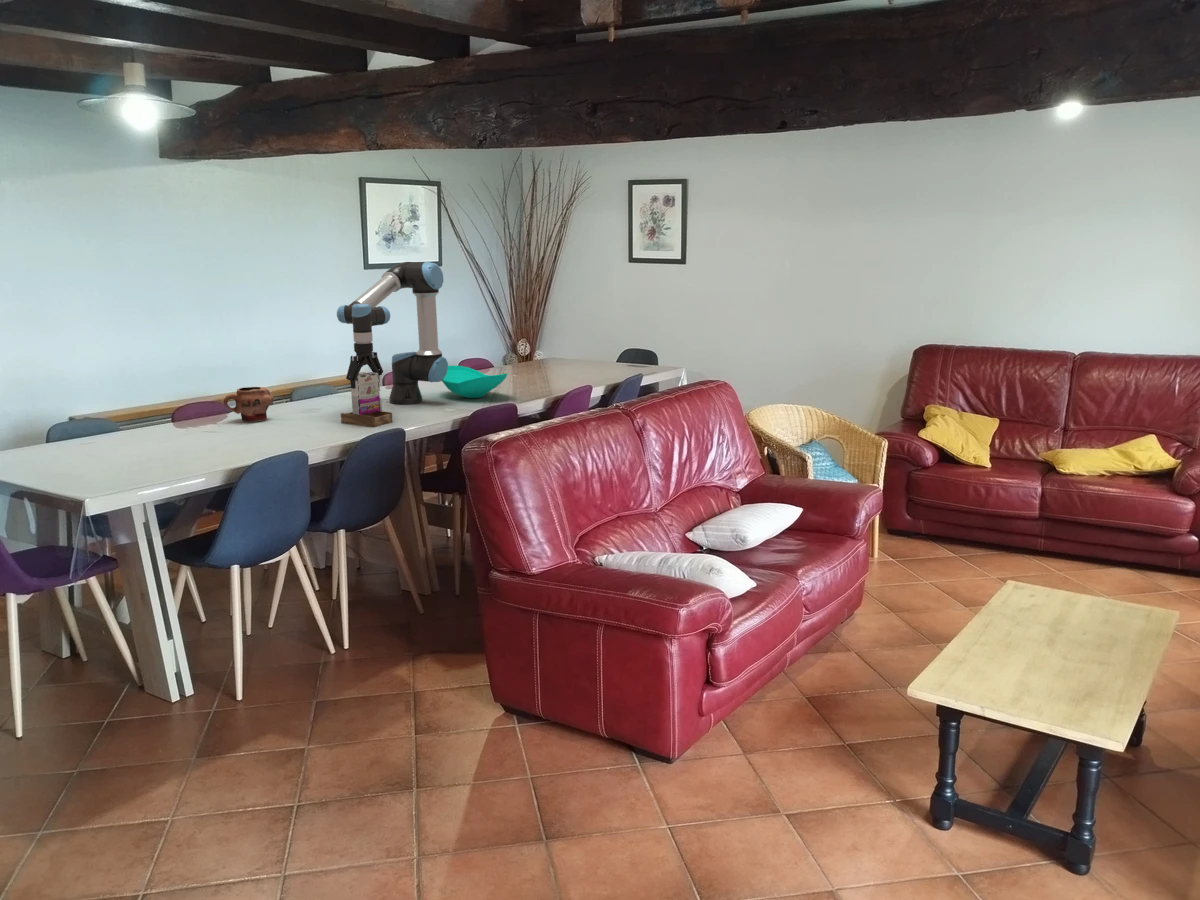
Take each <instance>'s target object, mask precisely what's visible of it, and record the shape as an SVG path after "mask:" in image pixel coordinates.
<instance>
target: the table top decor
mask: <svg viewBox="0 0 1200 900" xmlns="http://www.w3.org/2000/svg"><path fill="white" fill-rule="evenodd" d="M507 376H508V373H507V372H506V373H501V374H492V375H489V374H485V373H483V372H480V371H479V370H477V369H474V368H471V367H469V366H462V365H448V370H447V374H446V376H445V378H444V379H443V380H442V381H441V382H442V383H443V384H444V386H445V387H446V388H447V390H449V391H450V392H452V393H453V394H455V395H458V396H460V397H463V398H466V399H478V398H479V399H480V398H483V397H484V396H485V395H487V394H488V393H490V392H491V391H493V389H496V388H497V387H498V386H499V385H500V384H502V383H503V382H504V381H505V379H506V378H507Z"/></svg>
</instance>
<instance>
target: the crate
mask: <svg viewBox="0 0 1200 900" xmlns="http://www.w3.org/2000/svg"><path fill="white" fill-rule="evenodd" d="M390 422H391V423H393V412H392V411H391V412H389V411H384V410H382V411H380V412H375V413H370V414H364V415H355V414H353V411H352V412H347V413H345V412H341V413H340V423H341V424H344V425H346V424H347V425H352V426H353V425H354V426H355V425H356V426H361V427H362V426H363V427H369V428H375V427H379V426H382V425H387V424H390Z"/></svg>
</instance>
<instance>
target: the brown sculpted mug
mask: <svg viewBox="0 0 1200 900" xmlns="http://www.w3.org/2000/svg"><path fill="white" fill-rule="evenodd" d="M274 398H275V397H274V396H273V395H271V392H270V390H269V389H268V388H267V387H261V386H251V387H250V386H249V387H248V386H246V387H241V388H237V390H236V393H231V394H227V395H225V397H224V399H223V404H224V406H225V407H226V408H227V409H228V410H230V411H231V412H233V413H235V414H238V415H240V417H241V420H242V421H243V422H246V423H252V422H261V421H265V420H266V421H267V419H268V417H267V416H268V415H267V411H268V408H269V407H270V405H271V404H272V403H273V402H274V400H275V399H274ZM230 400H234V401H235V406H234V407H230V406H229V405H228V402H229V401H230Z"/></svg>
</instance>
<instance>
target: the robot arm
mask: <svg viewBox="0 0 1200 900" xmlns="http://www.w3.org/2000/svg"><path fill="white" fill-rule="evenodd" d="M443 284H444V274H443V271H442V269H441V267H440V266H439V265H438V264H437V263H435V262H430V261H405V262H404V261H403V262H400V263H398V264H396V265H394V266H393V267H391V268H389V269H387V270H386V271H385V272H384V273H383V274H382V275H381V279H379V280H378V281H376V282H375V283H374V284H373V285H372V286H371V287H369V288H368V289H366V291H365V292H363V293H362V294H361V295H360V296H359V297H357V298H356V299H355V300H354V301H352V302H351V303H349V304H344V305H339V306H338V308H337V310H336V317H337V321H338V322H339V323H342V324H347V325H349V324H350V325H352V328H353V329H352V332H353V334H352V335H353V342H354V343H353V351H354V353H355V355H351V356H350V359H349V360H350V361H349V367H348V369H347V374H346V377H345V379H346V380H347V381H350V382H349V383H350V389H351V388H352V394H351V397H352V396H358V381H357V380H356V378H357V376H358V374H360V372H361V369H362V368H363V367H364V366H366V365H367V366H368V368H369V369H370V370H371V372H374V373H378V377H379V392H380V391H381V388H380V386H381V376H382V375H383V373H384V370H383V367H382V365H381V362H380V360H379V358H378V352H377V351H376V352H375V351H374V344H373V341H374V340H373V329H372V328H373V327H375V326H382V325H385V324H388V323H389V322H390V319H391V311H390V310H389V309H388V307H386V306H379V304H381V303H382V302H383V301H384V300H385V299H386V298H388V296H390V295H391V294H392V293H396V292H398V291H400V290H401V289H407V288H408V289H412V290H411V291H412V294H413V295H414V296H415V298H416V312H417V314H416V316H417V330H418V346H419V349H418V350H417V351H409V352H400V353H394V354H393V355H392V356H391V374H392V375H391V377H392V387H391V391H390V396H389V403H390V404H392V405H393V404H394V405H415V404H420V403H422V402H423V395H422V392H421V389H420V386H419V382H427V383H428V382H430V383H439V382H442V380H443V379H444V378H445V376H446V374H447V370H448V366H449V365H448V364H449V363H448V361H447V358H446V357H444V356H443V352H442V350H440V348H439V337H438V334H439V333H438V316H437V314H438V313H437V300H436V297H437V295H438V294H439V293H440V291H439V290H440V289H441V288H442V287H443ZM353 377H354V378H353Z"/></svg>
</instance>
